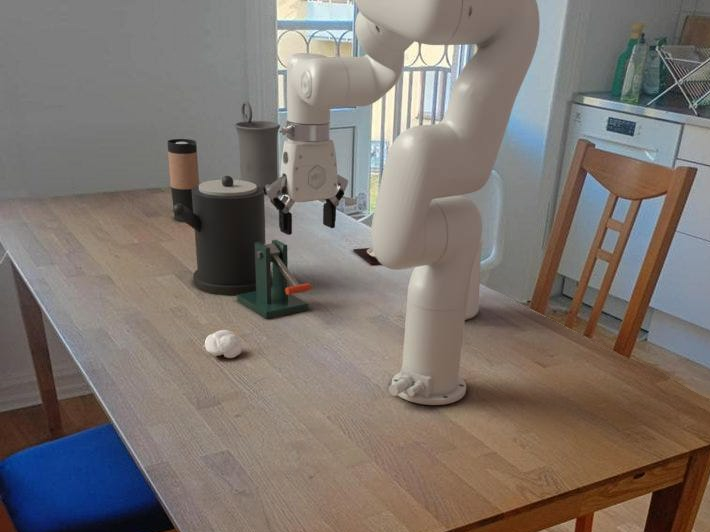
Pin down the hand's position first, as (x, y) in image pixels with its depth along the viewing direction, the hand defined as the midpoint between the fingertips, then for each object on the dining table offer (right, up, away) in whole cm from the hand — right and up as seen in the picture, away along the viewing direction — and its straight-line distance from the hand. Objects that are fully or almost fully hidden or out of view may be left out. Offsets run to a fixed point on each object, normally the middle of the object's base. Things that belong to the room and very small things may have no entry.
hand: (307, 229), depth 149 cm
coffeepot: (+29, -13, +15) cm, 35 cm away
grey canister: (-23, +44, +101) cm, 112 cm away
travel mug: (-38, +25, +69) cm, 83 cm away
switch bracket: (-8, -11, +15) cm, 20 cm away
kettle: (-21, -3, +26) cm, 34 cm away
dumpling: (-15, -25, -7) cm, 30 cm away
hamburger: (+16, +8, +47) cm, 50 cm away
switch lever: (-6, -6, +8) cm, 12 cm away
